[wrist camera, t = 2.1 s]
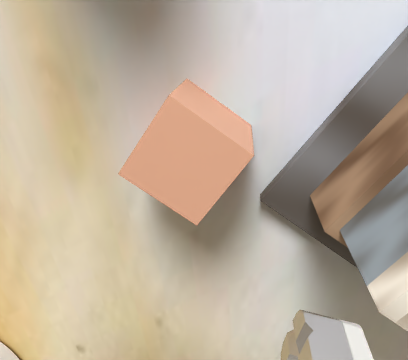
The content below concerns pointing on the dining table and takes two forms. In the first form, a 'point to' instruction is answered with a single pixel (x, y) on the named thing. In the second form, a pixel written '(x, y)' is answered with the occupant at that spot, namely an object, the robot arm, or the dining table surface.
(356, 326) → the robot arm
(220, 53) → the dining table surface
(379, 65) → the stacked open-top box
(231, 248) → the dining table surface
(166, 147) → the light orange block
